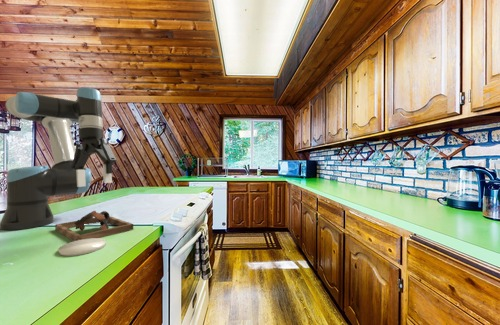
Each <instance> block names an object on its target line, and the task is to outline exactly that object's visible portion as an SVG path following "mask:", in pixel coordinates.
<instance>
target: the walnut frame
mask: <svg viewBox="0 0 500 325" xmlns="http://www.w3.org/2000/svg"><path fill="white" fill-rule="evenodd" d="M76 221H77V220H75V221H73V220H72V221H68V222H62V223H58V224H57V223H56V224H55V227H54V228H55V231H57V232H58V233H60V234H61V235H63V236H64V237H66V238H68V239H70V240H71V241H72V242H73V241H78V240H82V239H90V238H102V237H108V236H111V235H117V234H120V233H125V232H129V231H133V230H134V223H132V222H129V221H125V220H122V219H119V218H116V217H113V216H110V215H109V220H108V221H107V223H109V222H110V223H109V224H112V223H113V225H115V227H109V228H108V229H105V230H101V229H100V230H96V231H91V232H87V233H83V234H79V233H78V232H75V231H74V230H72V229H71V228H76V225H75V224H74V223H75V222H76ZM93 221H94V222H92V223H93V224H97V223H96V222H98V223H100V222H99V220H98V219H96V218H95V217H93ZM84 224H88V225H90V224H89V223H86V222H84Z"/></svg>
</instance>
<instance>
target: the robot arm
mask: <svg viewBox="0 0 500 325" xmlns="http://www.w3.org/2000/svg"><path fill="white" fill-rule="evenodd" d="M102 101H103V100H102V96H101V92H100V91H99V90H98V89H95V88H93V87H87V86H86V87H84V86H82V87H79V88H77V90H76V100H72V99H71V100H70V99H65V98H59V97H54V96H53V97H52V96H48V95H43V94H37V93H33V92H26V91H18V92H17V93H16V95H13V96H10V97H8V98H7V99H6V101H5V102H4V103H5V104H4V105H5V109H6V111H7V112H8V113H9V114H10V115H12V116H14V117H16V118H19V119H22V120H25V121H30V122H37V123H41V125H42V126H43V127H44V128H45V129H47V134H48V139H49V143H50V147H51V153H52V159H53V162H54V164H53V165H52V166H51V167H50V168H49V166H48V165H34V166H26V167H25V166H24V167H17V168H11V169H10V170H8V172H7V175H6V181H5V183H6V208H5V211H4V213H3V216H2V218H1V220H0V230H3V231H16V230H18V231H19V230H26V229H27V230H28V229H32V228H33V229H34V228H37V227H42V226H46V225H49V224H52V223H53V222H55V221H54V219H55V218H54V217H55V216H54V214H53V212H52V210H51V208H50V205H49V197H57V196H65V195H66V196H67V195H78V194H84V193H86V192H88V190H89V189H90V186H91V182H92V170H91V169H90V168H89V167H85V166H86V164H87V162H88V160H89V158H90V156H92V155H93V154H96V155H97V156H98V157H99V159H100V160H101V161H102V162H103V164H102V175H103V176H102V177H103V184H112V183H113V175H112V174H113V164H114V163H116V162H117V158H116V156H115V153H114V152H113V150H112V148H111V146H110V142H109V139H108V138H104V130H103V129H104V123H103V106H102ZM74 123H75V124H78V128H79V129H78V137H79V139H80V140H82V143H76V144H74V140H73V135H72V131H71V127H72V125H73V124H74Z"/></svg>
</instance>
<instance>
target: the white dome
mask: <svg viewBox="0 0 500 325" xmlns="http://www.w3.org/2000/svg"><path fill="white" fill-rule="evenodd" d="M106 245H107V243H106V239H105V238H102V237H100V238H90V239H82V240H78V241H73V240H72V241H71V242H68V243H65V244H62V245H61V246H59V248H58V255H61V256H63V257H65V256H66V257H75V256H81V255H86V254H91V253H94V252H96V251H99V250H102V249H103V248H104V247H106Z"/></svg>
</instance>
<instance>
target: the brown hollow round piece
mask: <svg viewBox="0 0 500 325" xmlns="http://www.w3.org/2000/svg"><path fill="white" fill-rule="evenodd" d="M109 216H110V213H109V212H108V211H105V210H103V211H101V212H97V211H96V210H93V211H91V212H89V213H87V214H85V215H84V216H82V217H81V218H80V219H77V220H75V221H76V222H75V223H74V224H75V225H76V227H74V228H75V229H74V230H78V229H79V231H84V230H85V229H86V225H84V222H86V223H92V222H94V221H93V218H96V219H98V220H99V222H98V223H99V224H100V227H99V229H100V230H105V229H109V228H110V227H109V223H108V222H107V221H108V220H109Z"/></svg>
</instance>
